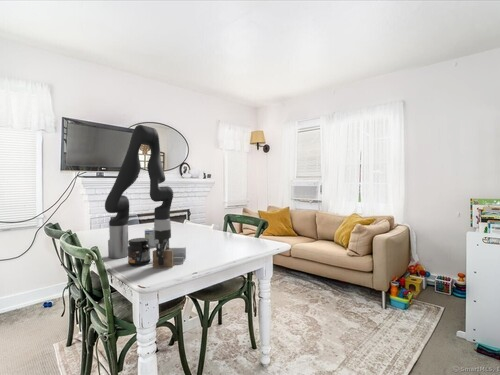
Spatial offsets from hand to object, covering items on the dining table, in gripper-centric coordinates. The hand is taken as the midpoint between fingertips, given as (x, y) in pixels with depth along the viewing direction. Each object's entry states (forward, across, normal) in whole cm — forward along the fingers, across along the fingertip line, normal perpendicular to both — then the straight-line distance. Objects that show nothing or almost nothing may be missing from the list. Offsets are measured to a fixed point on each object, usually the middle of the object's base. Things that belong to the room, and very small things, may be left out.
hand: (163, 262), depth 130 cm
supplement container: (+3, -7, -14) cm, 15 cm away
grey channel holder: (+2, -8, +2) cm, 9 cm away
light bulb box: (+2, -44, -17) cm, 47 cm away
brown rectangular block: (+2, 0, 0) cm, 2 cm away
